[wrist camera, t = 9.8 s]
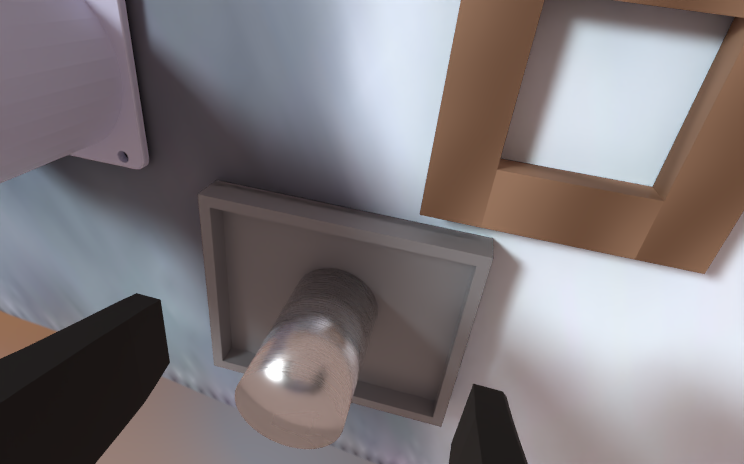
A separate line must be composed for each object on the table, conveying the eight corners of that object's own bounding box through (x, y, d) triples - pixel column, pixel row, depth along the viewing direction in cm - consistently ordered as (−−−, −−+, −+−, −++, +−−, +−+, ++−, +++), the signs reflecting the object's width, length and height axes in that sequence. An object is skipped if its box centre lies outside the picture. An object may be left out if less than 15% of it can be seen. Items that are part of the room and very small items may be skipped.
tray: (228, 345, 25) (214, 365, 23) (216, 179, 19) (197, 194, 18) (443, 401, 23) (441, 426, 22) (492, 238, 18) (493, 258, 17)
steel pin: (287, 317, 22) (228, 422, 17) (305, 255, 20) (243, 354, 15) (363, 348, 22) (327, 462, 17) (389, 288, 20) (357, 399, 14)
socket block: (423, 201, 18) (419, 214, 17) (484, -113, 13) (484, -121, 12) (690, 255, 16) (704, 274, 15) (881, -72, 11) (920, -76, 10)
